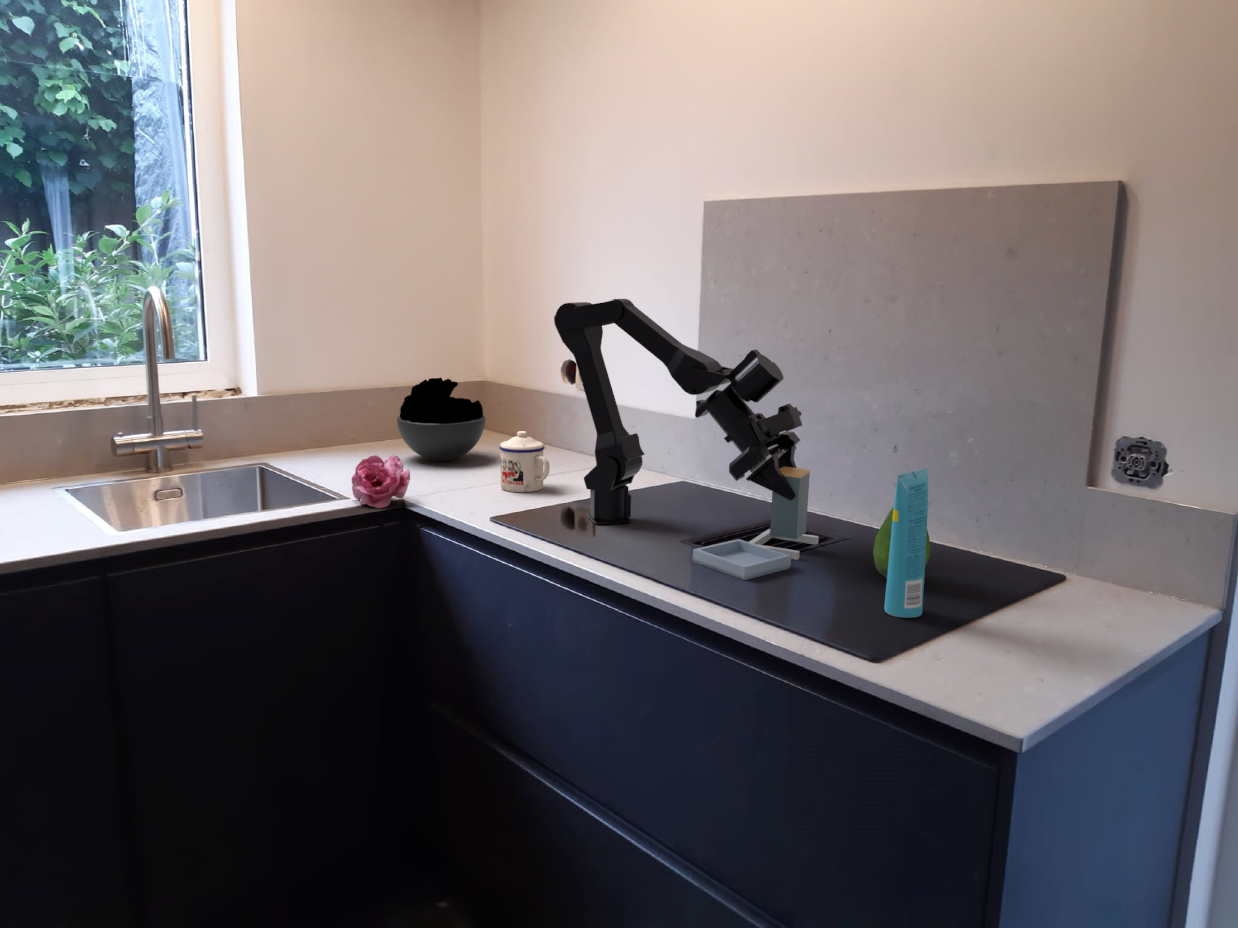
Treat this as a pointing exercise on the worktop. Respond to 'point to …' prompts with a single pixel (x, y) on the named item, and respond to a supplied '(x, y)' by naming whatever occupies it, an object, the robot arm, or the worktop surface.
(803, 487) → the block
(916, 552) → the tube
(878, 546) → the avocado
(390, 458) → the flower
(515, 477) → the teacup with lid
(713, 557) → the tray
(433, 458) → the bowl of black rocks
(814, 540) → the frame
